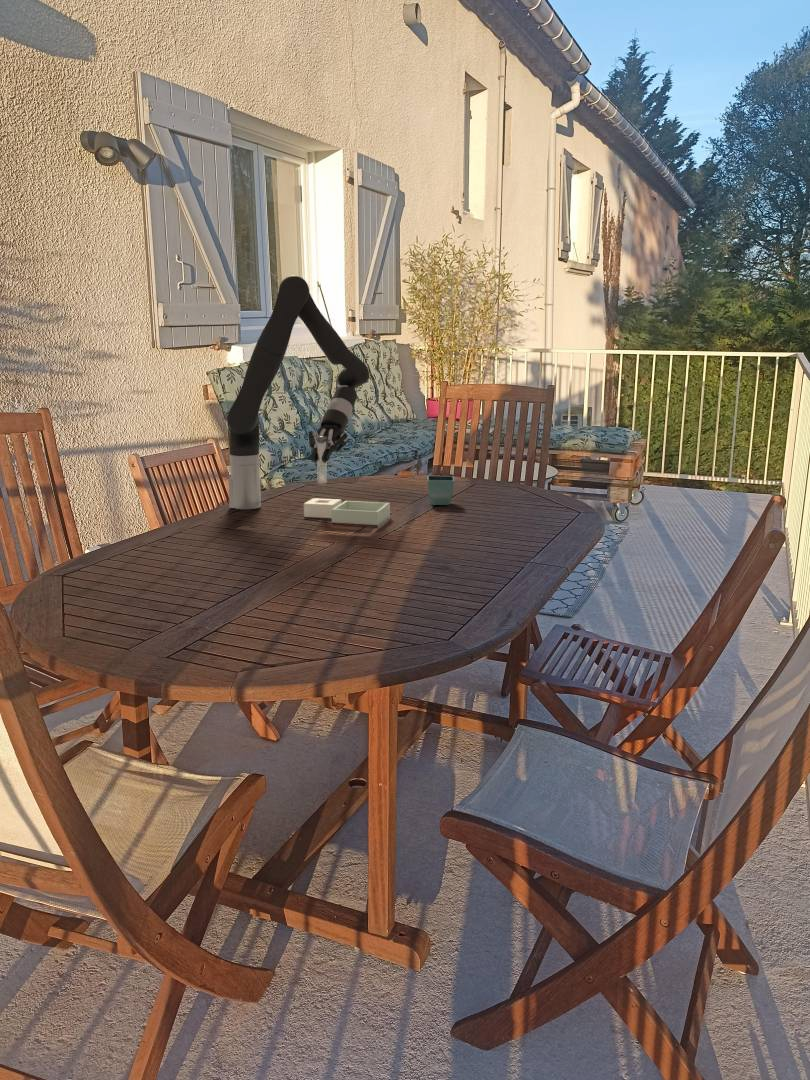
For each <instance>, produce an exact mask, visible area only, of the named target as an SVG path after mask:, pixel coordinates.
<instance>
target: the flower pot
mask: <svg viewBox="0 0 810 1080" xmlns="http://www.w3.org/2000/svg"><path fill="white" fill-rule="evenodd" d="M426 481H427V491H428V497H429V501H430V503H431V505H432V504H435V505H448V506H449V505H450V504H451V501H452V498H453V495H454V489H455V482H456V481H455V477H454V476H453V475H427V480H426Z"/></svg>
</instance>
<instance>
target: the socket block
mask: <svg viewBox="0 0 810 1080" xmlns="http://www.w3.org/2000/svg"><path fill="white" fill-rule="evenodd" d="M341 503H342V499H337V498H334V499H333V498H318V497H312V498H311V499H309V500H308V501H306V502H304V503H303V515H304V516H303V517H304V518H321V519H332V509H333V508H335V507H336V506H338V505H340V504H341Z"/></svg>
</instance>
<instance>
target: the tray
mask: <svg viewBox="0 0 810 1080" xmlns="http://www.w3.org/2000/svg"><path fill="white" fill-rule="evenodd" d="M390 506H391V503H390V502H376V501H362V500H360V501H358V500H344V501H343V502H341V504H340V505H338V506H336V507H335V508H333V509H332V518H331V523H336V524H353V525H370V526H371V525H373V526H375V527H374V529H379V528H380V527H381V526H382V525H384V524H385V523H386V522H387V521H388V520H390V519H389V518H391V516H390V515H391V511H390V509H391V508H390ZM385 521H386V522H385ZM384 522H385V523H384ZM383 523H384V524H383ZM379 526H380V527H379ZM378 527H379V528H378Z"/></svg>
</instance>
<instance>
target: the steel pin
mask: <svg viewBox="0 0 810 1080" xmlns="http://www.w3.org/2000/svg"><path fill="white" fill-rule="evenodd" d="M326 440H327V436H316V440H315V441H316V442H317V461H316V463H317V465H316V466H317V469H316V470H317V473H316V474H317V475H316V476H317V484H321V485H322V484H327V483H328V475H327V474H328V473H327V472H328V471H327V465H328V464H327V463H328V461H327V462H326V463H323V461H322V456H323V453H324V451H325V449H327V444H326Z"/></svg>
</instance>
